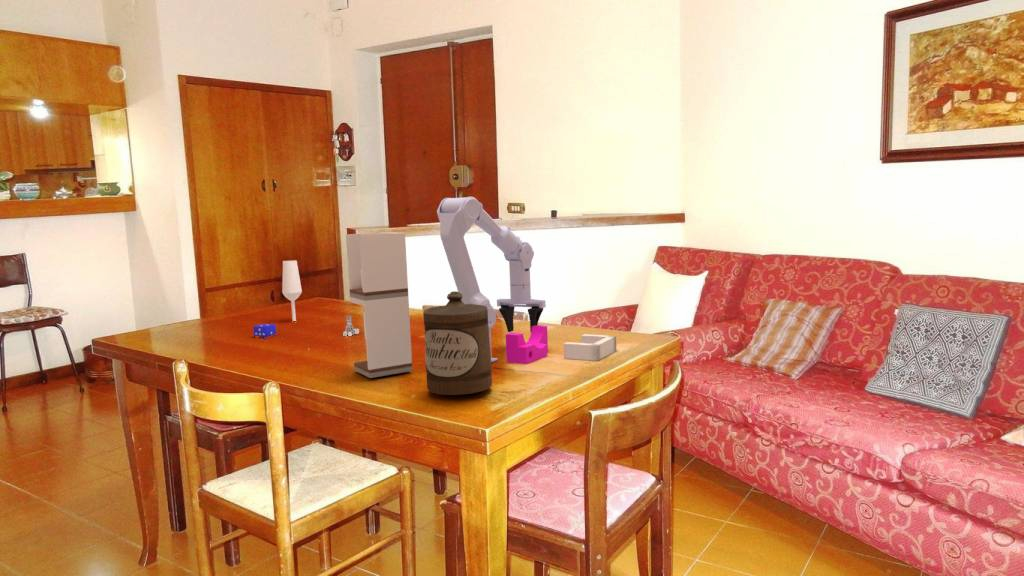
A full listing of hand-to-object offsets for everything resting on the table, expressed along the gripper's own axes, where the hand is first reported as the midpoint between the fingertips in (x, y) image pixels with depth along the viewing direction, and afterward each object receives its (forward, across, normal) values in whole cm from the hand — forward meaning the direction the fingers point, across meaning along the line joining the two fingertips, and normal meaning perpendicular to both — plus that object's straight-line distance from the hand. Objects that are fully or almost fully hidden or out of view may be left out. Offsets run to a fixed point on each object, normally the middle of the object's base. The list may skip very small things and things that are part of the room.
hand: (521, 332), depth 199 cm
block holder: (+5, -21, 0) cm, 21 cm away
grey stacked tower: (+5, +22, +35) cm, 42 cm away
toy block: (+5, -7, +8) cm, 12 cm away
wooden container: (+5, -6, +42) cm, 43 cm away
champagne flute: (+5, +96, -8) cm, 97 cm away
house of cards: (+6, +60, +1) cm, 60 cm away
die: (+5, +88, +14) cm, 89 cm away
